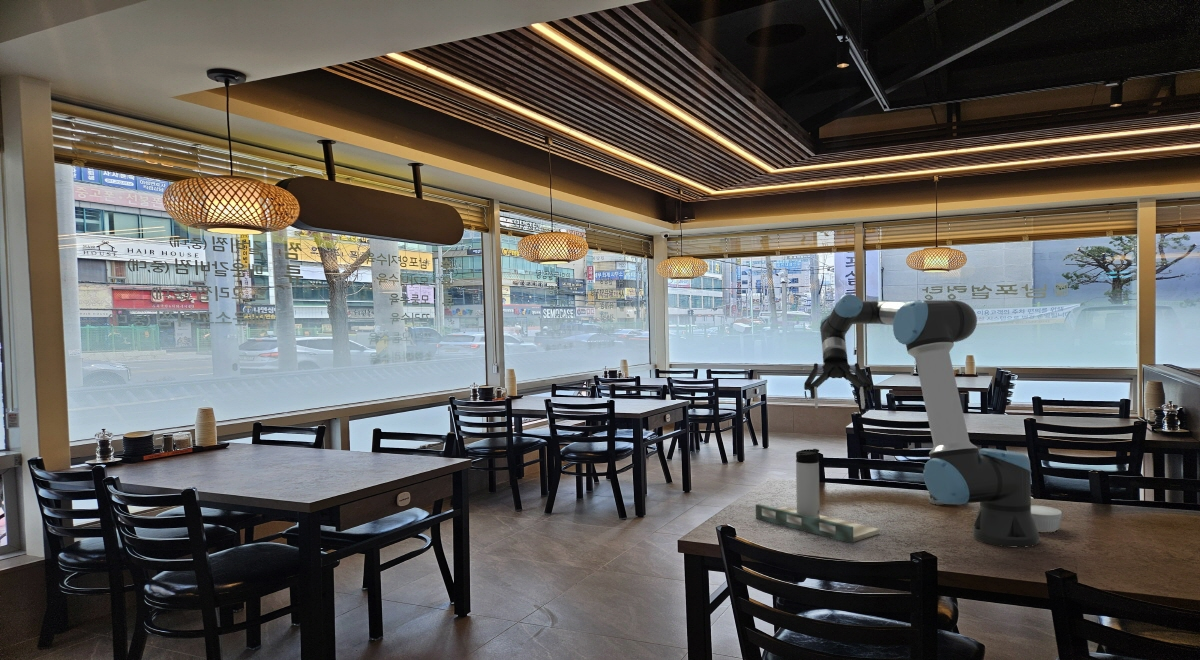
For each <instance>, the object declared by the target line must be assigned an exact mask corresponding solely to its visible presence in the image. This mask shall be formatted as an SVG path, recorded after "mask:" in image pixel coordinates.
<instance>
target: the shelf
mask: <svg viewBox="0 0 1200 660" xmlns="http://www.w3.org/2000/svg"><path fill="white" fill-rule="evenodd" d="M819 515H820V519H819V518H815V517H811V516H807V515H802V514H798V513H797V508H792V507H787V506H781V507H778V508H777V507H773V506H768V505H764V504H759V503H758V504H757V503H756V504H755V518H756V519H758V520H762V521H766V522H769V523H773V524H777V525H781V526H784V527H790V528H792V529H797V530H801V531H804V532H809V533H811V534H816V535H818V536H819V535H820V536H823V537H826V538H831V539H834V540H838V541H843V542H847V543H854V542H858V541H861V540H863V539H867V538H870V537H873V536H876V535H878V534H880V533H881V532H880V530H881V529H880V528H877V527H873V526H868V525H864V524H860V523H856V522H851V521H847V520H843V519H838V518H835V517H832V516H831V517H830V516H826V515H821V514H819Z"/></svg>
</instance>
